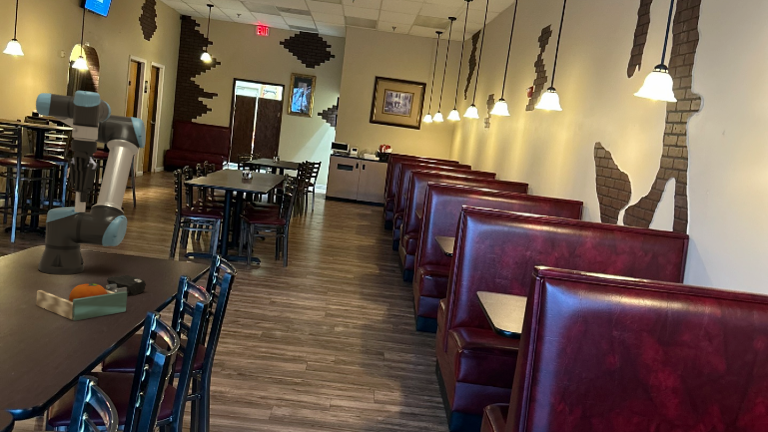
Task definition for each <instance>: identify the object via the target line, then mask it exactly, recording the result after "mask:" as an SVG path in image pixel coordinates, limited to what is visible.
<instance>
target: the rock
mask: <svg viewBox="0 0 768 432" xmlns="http://www.w3.org/2000/svg"><path fill="white" fill-rule="evenodd" d="M106 282H107V283H108V284H107V285H109V284H117V287H116V288H123V287H126V288H127V296H128V295H129V296H136V295H138V294H142V293H143V292H144V291H145V289H146V286H147V283H146V282H145V280H144V279H141V278H139V277H136V276H131V275H129V274H122V275H120V276H112V275H111V276H109V277H107V280H106Z"/></svg>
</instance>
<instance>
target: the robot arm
mask: <svg viewBox="0 0 768 432" xmlns="http://www.w3.org/2000/svg"><path fill="white" fill-rule="evenodd" d="M35 110H36V113H38V115H39V116H42V117H43V116H44V117H52V118H54V119H56V120H58V121H60V122H61V123H64V124H65V125H68V126H70V127H71V128H72V132H71V137H72V138H73V139H72V140H71V147H70V150H71V151H72V152H74V153H73V157H72V158H69V159H68V160H67V162H68V166H69V175H70V186H71V189H73V191H74V192H75V198H74V206H68V207H67V206H65V207H56V208H52V209H49V210H48V212H47V216H46V221H45V224H46V225H45V239H44V240H45V242H44V243H45V244H44V249H43V250H44V251H43V252H42V255H41V258H40V260H39V262H38V271H39V270H40V271H39V272H42V273H46V274H54V275H71V274H72V275H73V274H78V273H82V272H84V271H85V262H84V258H83V254H82V251H81V244H83V245H93V246H101V247H102V246H103V247H117V246H119V245H120V244H121V243H122V242H123V240H124V238H125V235H126V232H127V229H128V228H127V226H128V219H127V217H126V215H125V212H124V211H123V209H122V206H123V201H124V197H125V192H126V189H127V184H128V179H129V176H130V171H131V167H132V162H133V157H134V155H137V154H138V153H139V150H140V149H144V148H145V145H146V136H147V135H146V127H145V123H144V120H143V119H142V118H139V117H133V116H123V115H115V114H111V113H112V108H111V106H110V105H109V103H108V102H107V101H104V100H103V99H101V95H100V93H98V92H93V91H87V90H85V91H84V90H76V91H75V92H74V96H72V95H64V94H61V95H60V94H56V93H51V92H50V93H49V92H48V93H46V92H45V93H44V92H41V93H39V94H38V95H37V97H36V101H35ZM98 143H99V144H104V145H106V147H107V148H108V150H109V152H108V157H107V161H106V165H105V169H104V173H103V177H102V181H101V185H100V186H101V187H100V190H99V193H98V198H97V203H95V204H94V205H92V206H91V209H90V212H86V203H87V195H88V193H89V192H92V190H93V185H94V182H95V177H96V173H97V172H96V171H97V170H98V168H99V163H98V162H95V161H94V160H95V157H94V154H95V153H97V149H98Z"/></svg>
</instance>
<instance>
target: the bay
mask: <svg viewBox="0 0 768 432" xmlns="http://www.w3.org/2000/svg"><path fill="white" fill-rule="evenodd" d="M104 289H105V290H106V288H104ZM106 291H107V293H108V294H104V295H98V296H91V297H85V298H78V299H73V302H71V301H69V299H67V298H66V299H65V298H62V297H60V296H57V295H56V294H55V295H54V294H52V293H49V292H48V291H44V290H42V289H40V290H37V291H36V304H35V305H36V306H37V307H40V308H42V309H44V308H45V310H47V311H50V312H52V313H54V314H57V315H59V316H62V317H64V318H67V319H69V320H71V321H74V322H75V321H80V320H85V319H91V318H97V317H102V316H107V315H113V314H117V313H123V312H126V311H127V302H128V301H127V300H128V294H127V292H125V291H124V292H117V293H114V292H111V291H109V290H106Z"/></svg>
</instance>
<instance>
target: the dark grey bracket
mask: <svg viewBox="0 0 768 432" xmlns="http://www.w3.org/2000/svg"><path fill="white" fill-rule="evenodd" d="M116 287H117V284H109V285H108V284H106V285H105V289H106V290H109V291H111V292H114V293H117V292H124V291H125V292H127V288H126V287H123V288H116Z"/></svg>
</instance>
